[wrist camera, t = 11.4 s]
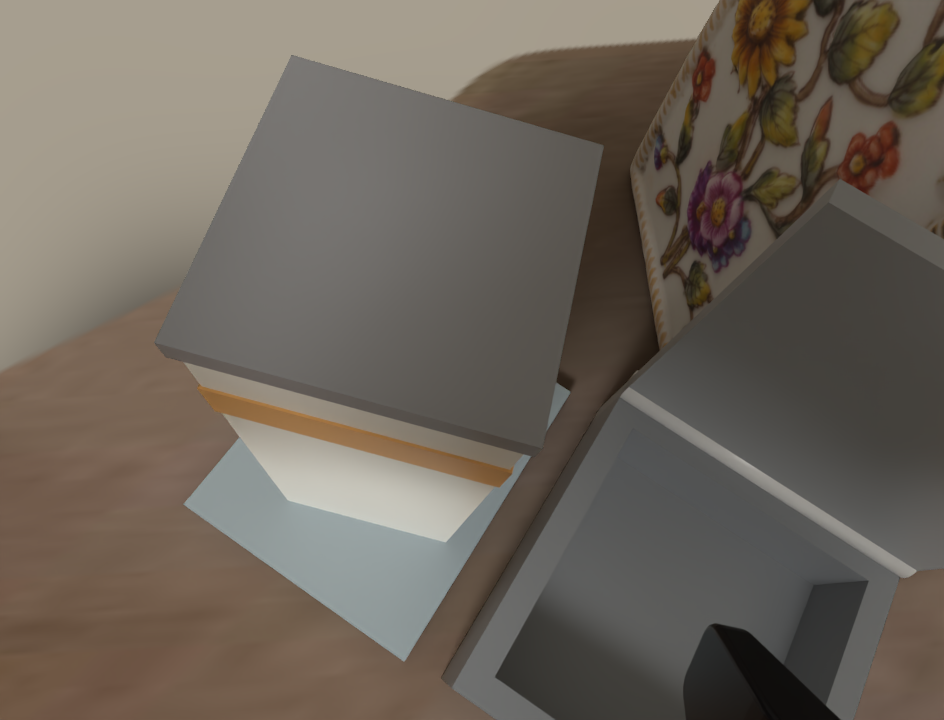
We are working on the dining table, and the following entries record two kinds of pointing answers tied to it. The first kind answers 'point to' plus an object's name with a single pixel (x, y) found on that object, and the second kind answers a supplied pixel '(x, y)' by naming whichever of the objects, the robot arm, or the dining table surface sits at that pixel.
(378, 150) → the block
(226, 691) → the dining table surface
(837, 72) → the decorative jar
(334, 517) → the pad
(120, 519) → the dining table surface
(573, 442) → the dining table surface
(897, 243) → the case
